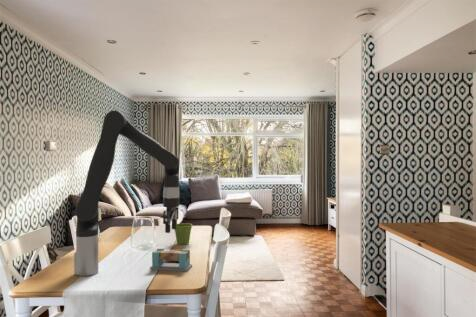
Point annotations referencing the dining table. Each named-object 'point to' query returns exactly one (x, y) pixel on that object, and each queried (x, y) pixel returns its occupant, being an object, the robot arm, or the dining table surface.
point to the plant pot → (183, 233)
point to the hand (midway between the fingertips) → (171, 230)
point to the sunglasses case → (174, 261)
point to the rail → (171, 255)
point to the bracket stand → (161, 265)
